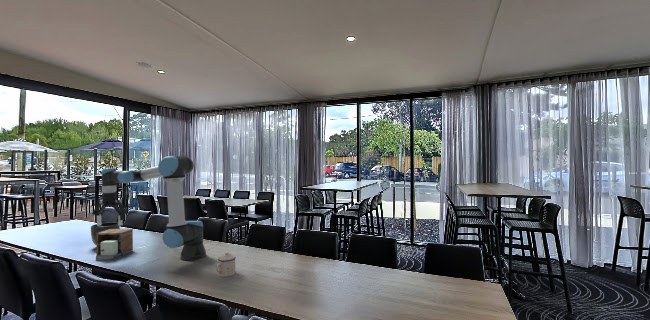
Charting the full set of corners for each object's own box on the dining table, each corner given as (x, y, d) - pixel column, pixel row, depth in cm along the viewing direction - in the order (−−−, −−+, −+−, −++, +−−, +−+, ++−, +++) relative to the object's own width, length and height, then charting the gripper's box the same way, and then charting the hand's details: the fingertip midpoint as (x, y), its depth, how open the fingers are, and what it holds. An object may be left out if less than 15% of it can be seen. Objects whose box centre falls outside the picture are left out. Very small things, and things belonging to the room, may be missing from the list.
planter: (84, 248, 213) (84, 226, 213) (108, 242, 229) (108, 221, 229) (102, 250, 208) (102, 227, 208) (125, 243, 224) (125, 222, 224)
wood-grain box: (132, 250, 207) (132, 228, 207) (120, 256, 195) (120, 233, 195) (109, 250, 207) (109, 229, 207) (96, 256, 195) (96, 233, 195)
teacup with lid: (227, 269, 168) (226, 249, 168) (239, 272, 164) (239, 251, 164) (210, 277, 157) (209, 255, 157) (222, 280, 153) (222, 257, 153)
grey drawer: (123, 255, 195) (123, 237, 195) (113, 260, 187) (113, 240, 187) (106, 256, 195) (106, 237, 195) (96, 260, 187) (95, 240, 187)
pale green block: (117, 257, 192) (117, 240, 192) (112, 260, 187) (112, 242, 187) (105, 257, 192) (105, 240, 192) (99, 260, 187) (99, 242, 187)
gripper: (132, 191, 195) (133, 223, 194) (94, 191, 195) (94, 224, 194) (124, 192, 187) (125, 226, 187) (85, 193, 187) (85, 227, 187)
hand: (109, 225), depth 191 cm, fingers open, 13 cm apart
